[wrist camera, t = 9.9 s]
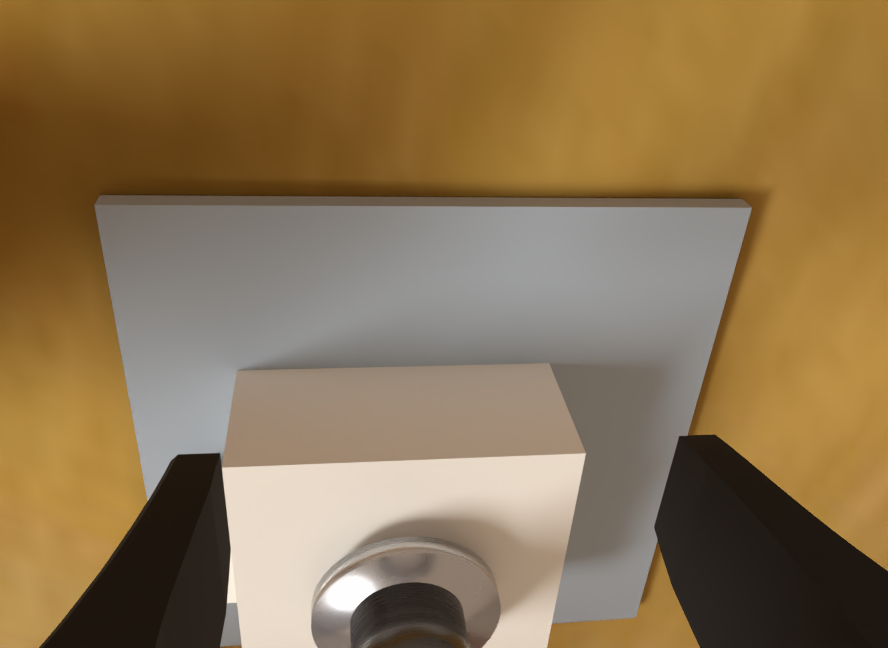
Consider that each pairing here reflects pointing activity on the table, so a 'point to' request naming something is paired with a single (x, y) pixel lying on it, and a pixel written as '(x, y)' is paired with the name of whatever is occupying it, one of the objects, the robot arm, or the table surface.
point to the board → (436, 326)
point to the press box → (397, 484)
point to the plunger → (406, 597)
